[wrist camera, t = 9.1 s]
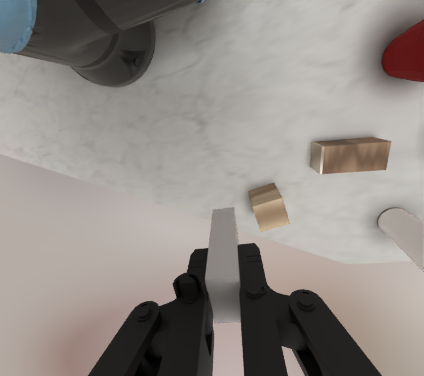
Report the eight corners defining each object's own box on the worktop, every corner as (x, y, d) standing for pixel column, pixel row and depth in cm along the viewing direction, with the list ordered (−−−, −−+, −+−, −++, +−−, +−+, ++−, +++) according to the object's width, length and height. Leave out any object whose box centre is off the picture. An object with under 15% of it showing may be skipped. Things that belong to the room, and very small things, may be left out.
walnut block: (321, 146, 35) (391, 141, 34) (311, 142, 40) (373, 137, 39) (319, 174, 37) (385, 169, 36) (310, 166, 41) (369, 162, 40)
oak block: (248, 191, 44) (252, 206, 37) (274, 183, 43) (282, 197, 36) (256, 213, 45) (260, 231, 39) (280, 205, 44) (289, 223, 38)
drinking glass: (412, 228, 44) (498, 287, 30) (375, 238, 45) (441, 299, 31) (408, 198, 42) (498, 246, 28) (369, 210, 43) (437, 261, 29)
